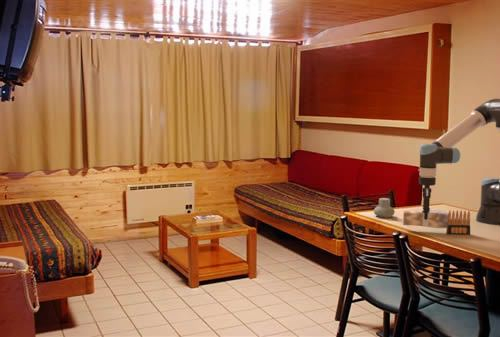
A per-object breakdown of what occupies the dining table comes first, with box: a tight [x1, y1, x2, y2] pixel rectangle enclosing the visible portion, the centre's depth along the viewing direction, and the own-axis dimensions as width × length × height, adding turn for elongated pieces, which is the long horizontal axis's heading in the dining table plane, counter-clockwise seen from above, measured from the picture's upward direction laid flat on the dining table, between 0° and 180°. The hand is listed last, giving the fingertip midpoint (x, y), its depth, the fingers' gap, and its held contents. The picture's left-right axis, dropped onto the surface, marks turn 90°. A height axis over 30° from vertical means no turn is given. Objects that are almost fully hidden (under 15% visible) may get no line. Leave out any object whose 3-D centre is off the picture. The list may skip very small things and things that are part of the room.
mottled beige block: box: [402, 210, 448, 229], centre depth 262 cm, size 20×4×6 cm, turn 74°
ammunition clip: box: [445, 209, 471, 236], centre depth 258 cm, size 11×2×12 cm, turn 86°
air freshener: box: [373, 197, 395, 219], centre depth 297 cm, size 11×8×10 cm
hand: (425, 224), depth 262 cm, fingers closed on mottled beige block, 4 cm apart
